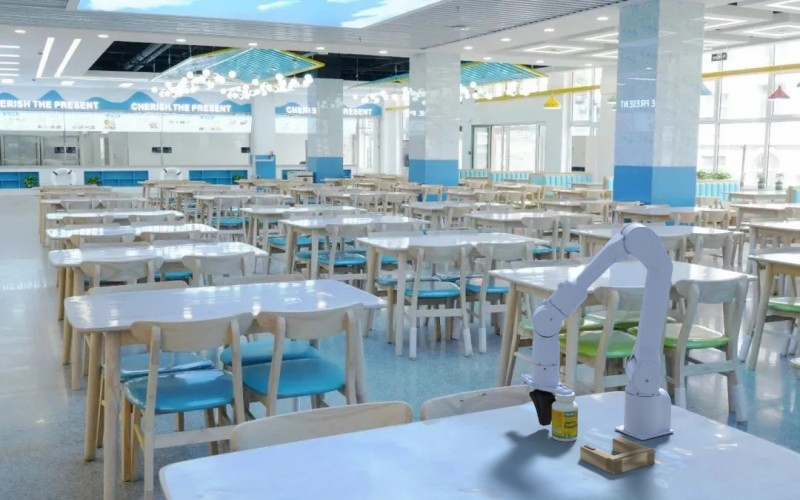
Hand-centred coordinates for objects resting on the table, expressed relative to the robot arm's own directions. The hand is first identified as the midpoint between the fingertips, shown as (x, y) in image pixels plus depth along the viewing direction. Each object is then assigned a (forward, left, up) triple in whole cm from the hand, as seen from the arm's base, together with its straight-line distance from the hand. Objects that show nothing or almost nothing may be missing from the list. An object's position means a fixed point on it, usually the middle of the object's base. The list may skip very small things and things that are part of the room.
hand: (545, 424), depth 176 cm
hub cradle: (0, +21, -1) cm, 21 cm away
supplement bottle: (0, +6, -1) cm, 6 cm away
